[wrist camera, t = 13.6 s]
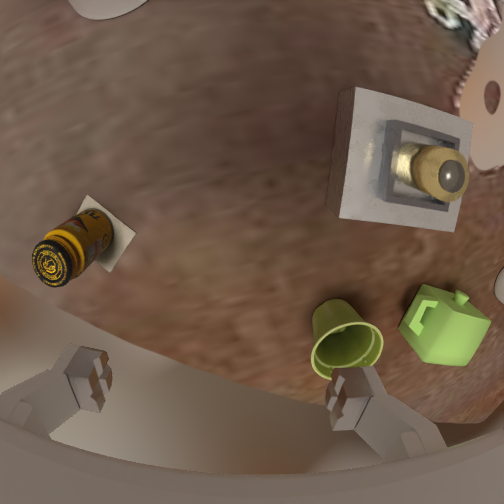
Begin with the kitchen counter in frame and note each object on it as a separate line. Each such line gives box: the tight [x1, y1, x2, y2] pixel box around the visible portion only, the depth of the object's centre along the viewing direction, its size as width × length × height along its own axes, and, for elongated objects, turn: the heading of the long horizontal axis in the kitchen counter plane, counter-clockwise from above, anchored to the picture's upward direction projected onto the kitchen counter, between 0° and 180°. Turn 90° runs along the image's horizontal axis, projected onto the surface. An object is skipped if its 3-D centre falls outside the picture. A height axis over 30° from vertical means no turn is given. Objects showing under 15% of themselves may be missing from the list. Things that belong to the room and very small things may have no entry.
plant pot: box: [311, 299, 383, 380], centre depth 40 cm, size 9×9×9 cm
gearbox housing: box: [325, 87, 473, 232], centre depth 32 cm, size 14×16×8 cm
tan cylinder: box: [397, 142, 469, 202], centre depth 27 cm, size 5×5×8 cm
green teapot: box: [398, 284, 491, 366], centre depth 40 cm, size 18×10×10 cm, turn 72°
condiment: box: [32, 195, 136, 287], centre depth 33 cm, size 7×8×12 cm
